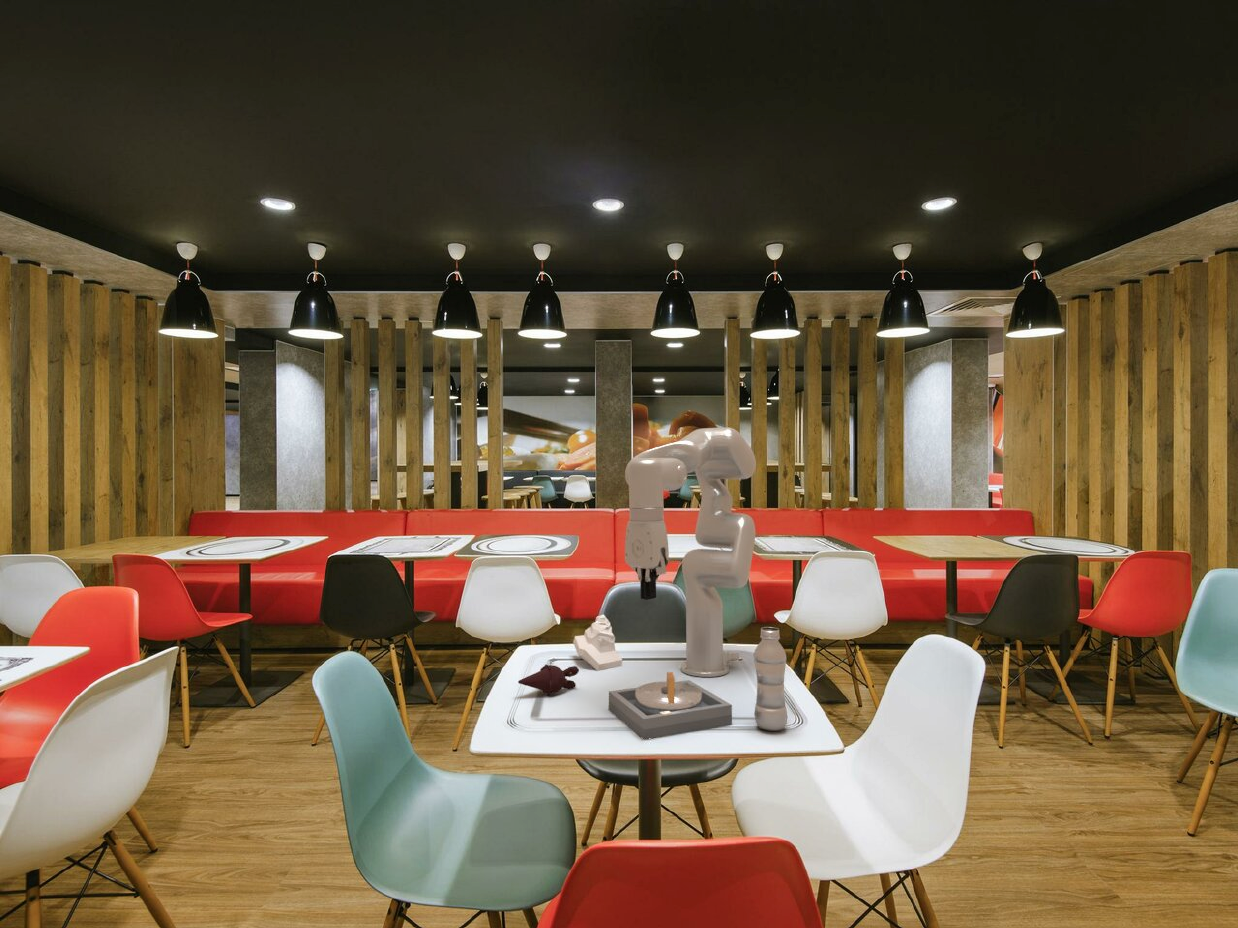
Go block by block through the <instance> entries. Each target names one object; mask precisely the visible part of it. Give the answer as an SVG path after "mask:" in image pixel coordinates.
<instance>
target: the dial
mask: <svg viewBox="0 0 1238 928" xmlns="http://www.w3.org/2000/svg"><path fill="white" fill-rule="evenodd" d="M637 687H638V688H637ZM637 687H636V688H637V689H636V691H635V707H636V708H638V709H639V710H640V711H642V712H643V713H644V714H646V715H655V714H660V712H664V711H670V712H673V711H680V710H686V709H692V708H698V707H702V692H701V690H700V689H699V688H697V687H695V686H693V685H690V684H686V683H680V682H679V681H676V680H675V675H674V673H673V672H672V671H668V672H666V681H655V682H654V681H653V682H647V683H645V684H641V685H640V686H637Z"/></svg>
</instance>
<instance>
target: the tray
mask: <svg viewBox="0 0 1238 928" xmlns="http://www.w3.org/2000/svg"><path fill="white" fill-rule="evenodd" d="M678 682H680V683H686V684H690V685H693V686H695V687H697V688H699V689H700V690H701V692H702V707H698V708H692V709H686V710H680V711H673V712H670V711H664V712H660V714H655V715H646V714H644V713H643V712H642V711H640V710H639V709H638V708H636V707H635V691H636V689H637V688H638V687H639V686H637V687H631V688H625V689H618V690H610V691H608V711H610V713H612V714H613V715H614V717H616V718H618V719H619V720H620V721H621V722H622V723H623V724H624V725H626V726H627V727H628V728H629V729H630V730H632V731H633V733H635V734H636V735H637V736H639V737H640V738H641V737H642V738H643V739H646V740H650V739H649V738H652V739H656V738H657V737H658V738H662V737H668V736H673V735H675V736H676V735H680V734H685V733H691V732H697V731H702V730H708V729H713V728H719V727H725V726H731V725H733V705H732V704H731V703H730V702H727V701H726V700H724V699H722V698H721V697H719V696H717V694H716V695H715V694H714V693H712V692H710V691H709V690H707V689H705V688H704V687H702V686H700V685H698V684H697V683H695V682H694V681H692V680H689V679H687V680H681V681H678ZM642 738H641V739H642ZM658 738H657V739H658ZM643 739H642V740H643Z"/></svg>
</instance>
